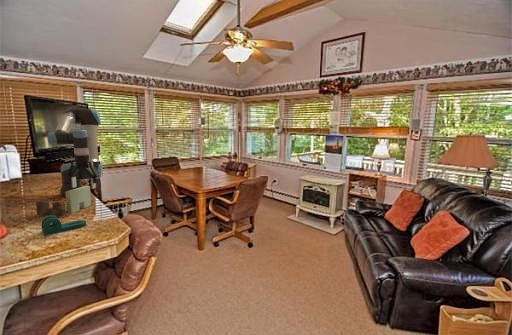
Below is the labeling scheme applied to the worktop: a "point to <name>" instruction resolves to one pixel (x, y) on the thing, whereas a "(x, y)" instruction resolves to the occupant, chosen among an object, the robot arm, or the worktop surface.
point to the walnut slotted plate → (44, 209)
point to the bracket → (59, 225)
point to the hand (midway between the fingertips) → (84, 187)
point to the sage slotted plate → (78, 198)
